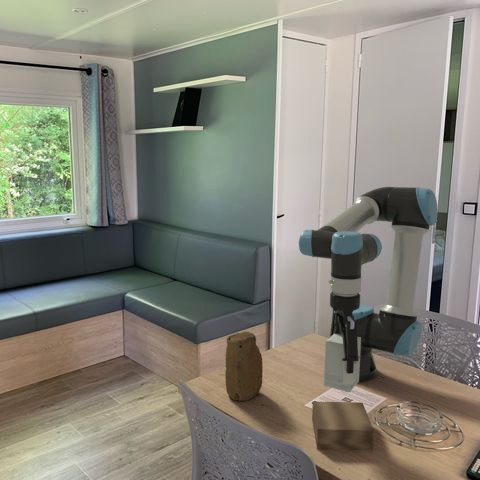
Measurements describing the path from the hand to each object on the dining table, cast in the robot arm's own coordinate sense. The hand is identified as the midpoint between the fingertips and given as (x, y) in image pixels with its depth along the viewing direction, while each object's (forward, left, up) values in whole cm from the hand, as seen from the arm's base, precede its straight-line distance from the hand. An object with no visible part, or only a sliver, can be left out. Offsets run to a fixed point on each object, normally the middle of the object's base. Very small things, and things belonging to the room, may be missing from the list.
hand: (342, 374), depth 128 cm
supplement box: (0, 0, -3) cm, 3 cm away
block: (+24, -24, -18) cm, 38 cm away
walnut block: (0, 0, -18) cm, 18 cm away
